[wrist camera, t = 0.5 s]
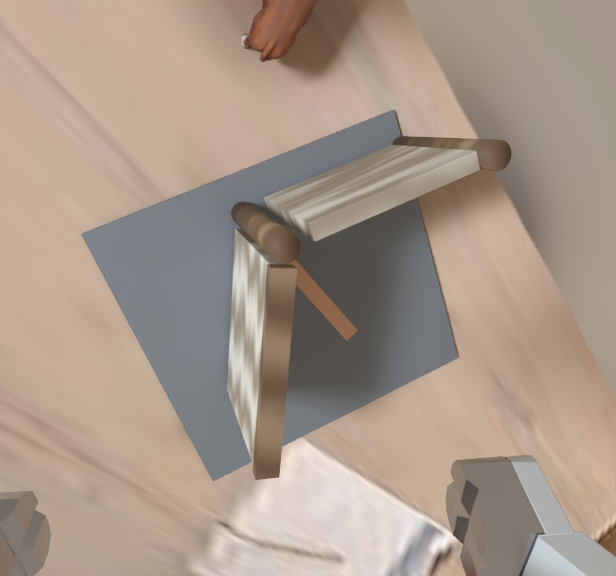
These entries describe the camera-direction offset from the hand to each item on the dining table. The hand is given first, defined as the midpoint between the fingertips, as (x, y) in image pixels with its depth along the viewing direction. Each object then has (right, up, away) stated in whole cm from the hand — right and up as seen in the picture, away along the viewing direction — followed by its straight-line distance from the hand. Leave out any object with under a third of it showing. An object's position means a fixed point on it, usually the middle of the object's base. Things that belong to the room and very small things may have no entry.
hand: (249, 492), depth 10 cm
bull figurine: (-1, +31, +39) cm, 50 cm away
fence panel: (-6, +1, +45) cm, 46 cm away
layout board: (0, +2, +48) cm, 48 cm away
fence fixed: (+3, +16, +45) cm, 48 cm away
